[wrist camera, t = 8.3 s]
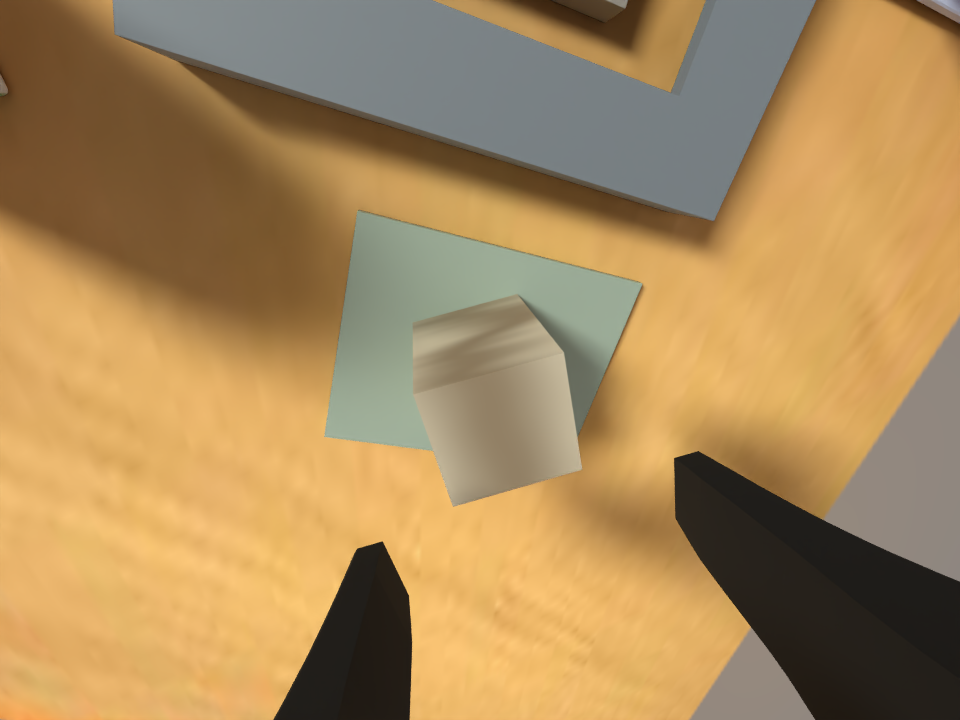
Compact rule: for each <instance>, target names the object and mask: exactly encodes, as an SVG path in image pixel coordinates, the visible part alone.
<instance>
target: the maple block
mask: <svg viewBox="0 0 960 720" xmlns="http://www.w3.org/2000/svg"><path fill="white" fill-rule="evenodd" d="M412 324H413V396H414V399H415V401H416V404H417V407H418V410H419V413H420V415H421V418H422V421H423V424H424V427H425V429H426V432H427V435H428V438H429V441H430V443H431V446H432V449H433V452H434V455H435V457H436V460H437V463H438V466H439V469H440V471H441V474H442V477H443V480H444V483H445V485H446V488H447V491H448V494H449V497H450V499H451V502H452V505H453V507H454V506H457V505H461V504H464V503H468V502H471V501H475V500H478V499H482V498H485V497H489V496H492V495H496V494H499V493H503V492H506V491H510V490H513V489H517V488H520V487H523V486H527V485H530V484H534V483H537V482H541V481H544V480H548V479H551V478H555V477H558V476H562V475H565V474H569V473H572V472H576V471H579V470H582V465H581V459H580V452H579V446H578V439H577V433H576V426H575V420H574V414H573V407H572V401H571V394H570V388H569V382H568V375H567V369H566V362H565V356H564V352H563V351H562V350H561V348H560V347H559V346H558V345H557V343H556V342H555V341H554V340H553V338H552V337H551V336H550V335H549V333H548V332H547V331H546V329H545V328H544V327H543V326H542V324H541V323H540V322H539V321H538V319H537V318H536V317H535V316H534V314H533V313H532V312H531V311H530V309H529V308H528V307H527V306H526V304H525V303H524V302H523V301H522V299H521V298H520V297H519V296H518V294H515V295H512V296H508V297H504V298H501V299H497V300H493V301H490V302H486V303H482V304H479V305H475V306H471V307H468V308H464V309H460V310H457V311H453V312H449V313H446V314H442V315H438V316H435V317H431V318H427V319H424V320H420V321H416V322H413V323H412Z"/></svg>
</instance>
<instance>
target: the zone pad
mask: <svg viewBox="0 0 960 720" xmlns="http://www.w3.org/2000/svg"><path fill="white" fill-rule="evenodd" d="M641 286H642V283H640V282H638V281H634V280H630V279H626V278H623V277H619V276H615V275H611V274H607V273H603V272H599V271H595V270H591V269H587V268H584V267H580V266H576V265H572V264H568V263H564V262H560V261H556V260H552V259H548V258H545V257H541V256H537V255H533V254H529V253H525V252H521V251H517V250H513V249H509V248H506V247H502V246H498V245H494V244H490V243H486V242H482V241H478V240H474V239H470V238H467V237H463V236H459V235H455V234H451V233H447V232H443V231H439V230H435V229H431V228H428V227H424V226H420V225H416V224H412V223H408V222H404V221H400V220H396V219H392V218H389V217H385V216H381V215H377V214H373V213H369V212H365V211H361V210H358V211H357V218H356V224H355V231H354V238H353V245H352V252H351V259H350V265H349V272H348V279H347V286H346V293H345V299H344V306H343V313H342V320H341V327H340V334H339V340H338V347H337V354H336V361H335V368H334V374H333V381H332V388H331V395H330V402H329V409H328V415H327V422H326V429H325V436H324V437H329V438H337V439H345V440H353V441H360V442H368V443H376V444H384V445H392V446H400V447H407V448H415V449H423V450H431V451H433V449H432V446H431V443H430V441H429V438H428V435H427V432H426V429H425V427H424V424H423V421H422V418H421V415H420V413H419V410H418V407H417V404H416V401H415V399H414V396H413V324H412V323H413V322H416V321H420V320H424V319H427V318H431V317H435V316H438V315H442V314H446V313H449V312H453V311H457V310H460V309H464V308H468V307H471V306H475V305H479V304H482V303H486V302H490V301H493V300H497V299H501V298H504V297H508V296H512V295H515V294H518V296H519V297H520V298H521V299H522V301H523V302H524V303H525V304H526V306H527V307H528V308H529V309H530V311H531V312H532V313H533V314H534V316H535V317H536V318H537V319H538V321H539V322H540V323H541V324H542V326H543V327H544V328H545V329H546V331H547V332H548V333H549V335H550V336H551V337H552V338H553V340H554V341H555V342H556V343H557V345H558V346H559V347H560V348H561V350H562V351H563V352H564V356H565V362H566V369H567V375H568V382H569V388H570V394H571V401H572V407H573V414H574V420H575V426H576V433H577V437H578V435H579V433H580V430H581V428H582V426H583V423H584V421H585V418H586V416H587V414H588V411H589V409H590V407H591V404H592V402H593V400H594V397H595V395H596V392H597V390H598V388H599V385H600V383H601V381H602V378H603V376H604V374H605V371H606V369H607V366H608V364H609V362H610V359H611V357H612V355H613V352H614V350H615V348H616V345H617V343H618V340H619V338H620V336H621V333H622V331H623V329H624V326H625V324H626V322H627V319H628V317H629V314H630V312H631V310H632V307H633V305H634V303H635V300H636V298H637V296H638V293H639V291H640V288H641Z"/></svg>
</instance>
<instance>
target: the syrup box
mask: <svg viewBox="0 0 960 720" xmlns="http://www.w3.org/2000/svg"><path fill="white" fill-rule="evenodd" d="M7 93H8V89H7V86H6V84H5V82H4V80H3V78H2V76H1V75H0V96H4V95H6V94H7Z"/></svg>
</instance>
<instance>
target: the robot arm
mask: <svg viewBox="0 0 960 720" xmlns="http://www.w3.org/2000/svg"><path fill="white" fill-rule="evenodd" d="M917 1H919V2H921V3H922V4H924V5H926V6H928V7H930V8H932V9H933V10H935V11H937V12H939V13H941V14H943V15H945V16H946V17H948V18H950V19H952V20H954V21H956V22H958V23H959V24H960V0H917ZM674 471H675V516H676V520H677V521H678V523H679V525H680V527H681V528H682V530H683V532H684V534H685V535H686V537H687V539H688V540H689V542H690V544H691V545H692V547H693V549H694V550H695V552H696V553H697V555H698V557H699V558H700V560H701V561H702V562H703V564H704V565H705V567H706V568H707V569H708V571H709V572H710V573H711V575H712V576H713V577H714V579H715V580H716V581H717V583H718V584H719V585H720V587H721V588H722V589H723V591H724V592H725V593H726V595H727V596H728V597H729V599H730V600H731V601H732V602H733V604H734V605H735V606H736V608H737V609H738V610H739V612H740V613H741V614H742V616H743V617H744V618H745V620H746V621H747V622H748V624H749V625H750V626H751V628H752V629H753V630H754V631H755V633H756V634H757V635H758V637H759V638H760V639H761V641H762V642H763V643H764V645H765V646H766V647H767V648H768V650H769V651H770V652H771V654H772V655H773V657H774V658H775V660H776V661H777V662H778V664H779V665H780V667H781V668H782V669H783V671H784V672H785V673H786V675H787V676H788V678H789V679H790V681H791V683H792V684H793V686H794V687H795V689H796V690H797V691H798V693H799V695H800V697H801V698H802V700H803V701H804V703H805V704H806V706H807V708H808V709H809V711H810V712H811V714H812V715H813V717H814V718H815V720H960V582H959V581H957V580H954V579H952V578H949V577H947V576H945V575H942V574H940V573H937V572H935V571H933V570H930V569H928V568H926V567H923V566H921V565H919V564H916V563H914V562H912V561H909V560H907V559H904V558H902V557H900V556H898V555H896V554H893V553H891V552H889V551H886V550H884V549H882V548H880V547H878V546H876V545H873V544H871V543H869V542H867V541H865V540H863V539H861V538H859V537H856V536H854V535H852V534H850V533H848V532H846V531H844V530H842V529H840V528H838V527H836V526H833V525H832V524H830V523H828V522H826V521H824V520H822V519H820V518H818V517H816V516H814V515H812V514H810V513H808V512H806V511H805V510H803V509H801V508H799V507H797V506H795V505H793V504H791V503H790V502H788V501H786V500H784V499H782V498H780V497H778V496H777V495H775V494H773V493H771V492H769V491H768V490H766V489H764V488H762V487H760V486H759V485H757V484H755V483H753V482H752V481H750V480H748V479H746V478H744V477H743V476H741V475H739V474H737V473H736V472H734V471H732V470H730V469H729V468H727V467H725V466H724V465H722V464H720V463H718V462H717V461H715V460H713V459H711V458H710V457H708V456H706V455H704V454H702V453H701V452H699V451H697V452H694V453H690V454H687V455H683V456H680V457H676V458H674ZM411 663H412V634H411V618H410V605H409V595H408V593H407V591H406V589H405V587H404V585H403V583H402V580H401V578H400V576H399V574H398V572H397V570H396V568H395V566H394V564H393V562H392V560H391V558H390V556H389V554H388V552H387V549H386V547H385V545H384V543H383V542H379V543H376V544H372V545H369V546H365V547H362V548H358V549H357V550H356V552H355V553H354V556H353V558H352V560H351V563H350V565H349V567H348V569H347V572H346V574H345V576H344V579H343V581H342V583H341V585H340V588H339V590H338V592H337V594H336V597H335V599H334V601H333V603H332V605H331V608H330V610H329V612H328V614H327V616H326V618H325V620H324V623H323V625H322V627H321V629H320V631H319V633H318V635H317V637H316V639H315V641H314V643H313V645H312V648H311V650H310V652H309V654H308V656H307V658H306V660H305V662H304V664H303V665H302V667H301V669H300V671H299V673H298V675H297V677H296V679H295V681H294V682H293V684H292V686H291V688H290V690H289V692H288V694H287V696H286V698H285V700H284V701H283V703H282V705H281V707H280V709H279V711H278V712H277V714H276V716H275V718H274V720H409V719H410V692H411Z"/></svg>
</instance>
